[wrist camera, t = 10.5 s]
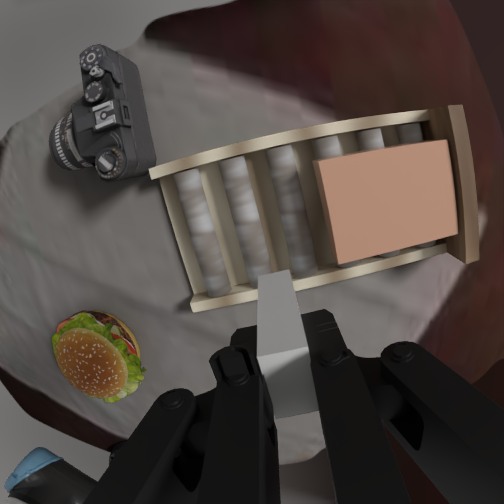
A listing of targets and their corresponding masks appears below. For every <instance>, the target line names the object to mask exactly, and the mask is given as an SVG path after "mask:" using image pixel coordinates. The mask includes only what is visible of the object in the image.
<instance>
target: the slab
mask: <svg viewBox="0 0 504 504" xmlns="http://www.w3.org/2000/svg"><path fill="white" fill-rule="evenodd" d="M312 162H313V166H314V171H315V175H316V180H317V184H318V189H319V194H320V198H321V203H322V208H323V213H324V218H325V223H326V228H327V233H328V239H329V244H330V250H331V254H332V256H333V257H334V259H335V260H336V262H337V263H338V264H343V263H347V262H351V261H355V260H359V259H363V258H367V257H371V256H375V255H379V254H383V253H387V252H391V251H395V250H399V249H403V248H407V247H410V246H414V245H418V244H422V243H426V242H429V241H433V240H437V239H441V238H444V237H448V236H452V235H455V234H458V222H457V209H456V198H455V189H454V181H453V173H452V166H451V159H450V153H449V147H448V142H447V139H444V140H426V141H419V142H413V143H406V144H400V145H393V146H387V147H381V148H375V149H370V150H364V151H359V152H353V153H348V154H343V155H337V156H332V157H327V158H322V159H318V160H313V161H312Z"/></svg>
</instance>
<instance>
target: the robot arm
mask: <svg viewBox="0 0 504 504" xmlns="http://www.w3.org/2000/svg"><path fill="white" fill-rule="evenodd" d="M209 363H210V365H211V368H212V370H213V373H214V375H215V378H216V380H217V386H216V388H214V389H213V390H210V391H208V392H206V393H203V394H200V395H197V396H194V395H193V393H192V392H191V391H189V390H188V389H183V388H179V389H173V390H170V391H167V392H165V393H164V394H162V395H160V396H159V397H158V398H157V399H156V401H155V402H154V403H153V405H152V406H151V408H150V409H149V411H148V412H147V413H146V415H145V416H144V418H143V419H142V421H141V422H140V423H139V425H138V426H137V428H136V429H135V430H134V432H133V433H132V435H131V436H130V437H129V439H128V440H127V441H123V442H120V443H118V444H116V445H115V446H114V447H113V449H112V452H111V454H110V458H109V467H108V468H107V470H106V471H105V473H104V474H103V476H102V477H101V478H100V480H99V481H98V482H97V481H96V480H94V479H92V478H90V477H89V476H88V475H86V474H84V473H83V472H81V471H80V470H78V469H76V468H75V467H73V466H72V465H70V464H69V463H67V462H66V461H64V459H63V458H61V457H58V456H57V455H55V454H53V453H52V452H51V451H49V450H47V449H46V448H43V447H38V448H35V449H34V450H33V451H31V452H30V453H29V454H28V455H27V456H26V457H25V458H24V459H23V460H22V461H21V462H20V464H19V465H18V466H17V467H16V468H15V470H14V472H13V473H12V474H11V475H10V476H9V478H8V479H7V481H6V482H5V485H4V487H5V489H6V490H7V492H9V493H10V495H9V496H8V498H7V504H281V500H280V479H279V458H278V439H277V429H276V426H275V422H274V415H275V418H276V419H279V418H284V417H290V416H295V415H300V414H305V413H310V412H314V411H319V413H320V418H321V424H322V429H323V435H324V439H325V444H326V449H327V455H328V459H329V465H330V471H331V476H332V482H333V488H334V493H335V499H336V504H411V501H410V498H409V496H408V492H407V490H406V487H405V484H404V481H403V478H402V476H401V473H400V470H399V467H398V464H397V462H396V459H395V456H394V454H393V451H392V448H391V446H390V443H389V441H388V438H387V435H386V432H385V430H384V427H383V425H382V422H381V420H382V421H383V423H384V425H385V426H386V427H387V428H388V429H389V431H390V432H391V433H392V434H393V436H394V437H395V438H396V439H397V440H398V441H399V443H400V444H401V445H402V446H403V448H404V449H405V450H406V451H407V452H408V454H409V455H410V456H411V457H412V458H413V460H414V461H415V462H416V463H417V464H418V466H419V467H420V468H421V469H422V470H423V472H424V473H425V474H426V475H427V476H428V477H429V479H430V480H431V481H432V482H433V484H434V485H435V486H436V487H437V488H438V490H439V491H440V492H441V493H442V494H443V496H444V497H445V498H446V499H447V500H448V502H449V503H450V504H504V409H502V408H501V407H500V406H498V405H497V404H496V403H495V402H493V401H492V400H491V399H490V398H488V397H487V396H486V395H484V394H483V393H482V392H481V391H479V390H478V389H477V388H475V387H474V386H473V385H471V384H470V383H469V382H468V381H466V380H465V379H464V378H462V377H461V376H460V375H458V374H457V373H456V372H455V371H453V370H452V369H451V368H449V367H448V366H447V365H445V364H444V363H443V362H441V361H440V360H439V359H437V358H436V357H435V356H433V355H432V354H431V353H429V352H428V351H427V350H426V349H424V348H423V347H422V346H420V345H418V344H416V343H414V342H408V341H403V342H396V343H393V344H390V345H389V346H387V347H386V348H384V350H383V351H382V353H381V357H376V358H363V357H358V356H355V355H354V354H353V353H352V351H351V350H350V349H347V347H346V344H345V342H344V340H343V337H342V335H341V333H340V330H339V328H338V325H337V323H336V321H335V318H334V316H333V314H332V313H330V312H329V311H327V310H326V309H323V310H318V311H314V312H310V313H306V314H301V315H300V311H299V307H298V303H297V298H296V294H295V290H294V286H293V282H292V278H291V274H290V270H289V269H288V270H284V271H279V272H275V273H271V274H266V275H262V276H258V315H257V325H255V326H250V327H245V328H240V329H237V330H236V331H235V333H234V334H233V335H232V336H231V342H230V346H228V347H224V348H222V349H220V350H218V351H217V352H216V353H214V354H213V355H212V356H211V358H210V360H209Z"/></svg>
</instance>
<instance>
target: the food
mask: <svg viewBox="0 0 504 504" xmlns="http://www.w3.org/2000/svg"><path fill="white" fill-rule="evenodd" d="M51 340H52V344H53V348H54V355H55V357H56V360H57V363H58V366H59V368H60V370H61V371H62V374H63V375H64V376H65V378H66V379H67V380H68V381H69V382H70V384H71V385H73V386H74V387H75V388H77V389H78V390H79V391H81V392H83V393H85V394H86V395H88V396H89V397H92V398H93V397H98V399H103V400H104V402H105V403H109V402H116V401H119V400H120V399H121V398H123V397H126V396H128V395H130V394H131V393H133V392H134V391H135V390H136V389H137V387H138V384H141V381H142V380H143V379H144V375H142V371H143V372H145V371H146V369H145V368H144V367H143V368H142V369H141V368H140V366H141V361H140V348H139V346H138V343H137V341H136V339H135V337H134V335H133V333H132V332H131V331H130V330H129V329H128V328H127V326H126V325H125V324H124V323H123V322H121V321H120V320H118V319H117V318H116V317H114V316H113V315H110V314H107V313H103V312H100V311H96V310H93V311H81V312H78V313H76V314H74V315H73V316H72V317H71V318H69V319H66V320H65V321H63V322H61V323H60V324H59V325H58V326H57V332H56V333H55V334H54V335H53V337H51ZM141 385H142V384H141Z"/></svg>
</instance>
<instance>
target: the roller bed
mask: <svg viewBox="0 0 504 504" xmlns="http://www.w3.org/2000/svg"><path fill="white" fill-rule="evenodd" d="M444 139H447V142H448V147H449V153H450V159H451V166H452V173H453V181H454V189H455V198H456V209H457V222H458V234H455V235H452V236H448V237H444V238H441V239H437V240H433V241H429V242H426V243H422V244H418V245H414V246H410V247H407V248H403V249H399V250H395V251H391V252H387V253H383V254H379V255H375V256H371V257H367V258H363V259H359V260H355V261H351V262H347V263H343V264H338V263H337V262H336V260H335V259H334V257H333V256H332V254H331V250H330V244H329V239H328V233H327V228H326V223H325V218H324V213H323V208H322V203H321V198H320V194H319V189H318V184H317V180H316V175H315V171H314V166H313V162H312V161H313V160H318V159H322V158H327V157H332V156H337V155H343V154H348V153H353V152H359V151H364V150H370V149H375V148H381V147H387V146H393V145H400V144H406V143H413V142H419V141H426V140H444ZM149 173H150V176H151V180H152V179H156V178H159V181H160V184H161V188H162V191H163V195H164V198H165V202H166V205H167V209H168V212H169V216H170V219H171V223H172V226H173V229H174V233H175V236H176V239H177V242H178V246H179V249H180V252H181V255H182V258H183V262H184V265H185V268H186V271H187V274H188V277H189V280H190V283H191V286H192V289H193V292H194V296H193V298H192V300H191V302H190V305H191V308H192V311H193V312H199V311H204V310H209V309H214V308H219V307H224V306H229V305H234V304H239V303H243V302H248V301H253V300H257V299H258V276H262V275H266V274H271V273H275V272H279V271H284V270H288V269H289V270H290V274H291V278H292V282H293V286H294V290H295V291H298V290H303V289H307V288H311V287H315V286H320V285H324V284H328V283H332V282H336V281H341V280H345V279H349V278H353V277H357V276H361V275H365V274H369V273H373V272H376V271H380V270H384V269H388V268H392V267H396V266H399V265H403V264H407V263H410V262H414V261H418V260H421V259H425V258H429V257H432V256H436V255H439V254H443V253H446V252H447V253H449V254H451V255H452V256H454V257H455V258H457V259H459V260H460V261H462V262H463V263H465V264H468V263H471V262H474V261H477V260H479V227H478V208H477V195H476V185H475V176H474V167H473V160H472V153H471V147H470V141H469V135H468V129H467V124H466V119H465V114H464V110H463V105H450V106H443V107H438V108H433V109H429V110H419V111H410V112H401V113H393V114H385V115H377V116H370V117H363V118H357V119H351V120H344V121H339V122H333V123H327V124H322V125H316V126H311V127H306V128H301V129H296V130H291V131H287V132H282V133H277V134H273V135H268V136H264V137H260V138H256V139H251V140H247V141H243V142H239V143H235V144H232V145H228V146H224V147H220V148H216V149H213V150H209V151H206V152H202V153H198V154H195V155H192V156H188V157H185V158H181V159H178V160H175V161H172V162H168V163H165V164H162V165H159V166H156V167H153V168H150V169H149Z"/></svg>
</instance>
